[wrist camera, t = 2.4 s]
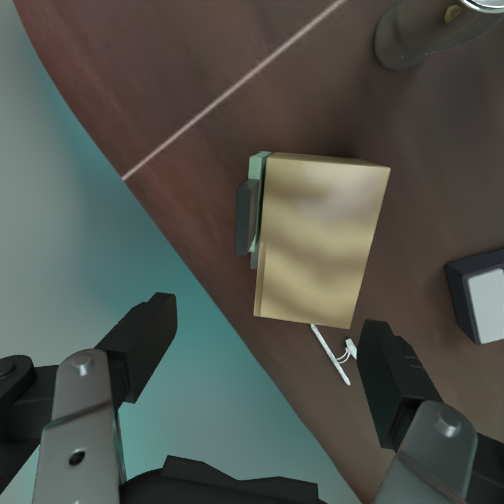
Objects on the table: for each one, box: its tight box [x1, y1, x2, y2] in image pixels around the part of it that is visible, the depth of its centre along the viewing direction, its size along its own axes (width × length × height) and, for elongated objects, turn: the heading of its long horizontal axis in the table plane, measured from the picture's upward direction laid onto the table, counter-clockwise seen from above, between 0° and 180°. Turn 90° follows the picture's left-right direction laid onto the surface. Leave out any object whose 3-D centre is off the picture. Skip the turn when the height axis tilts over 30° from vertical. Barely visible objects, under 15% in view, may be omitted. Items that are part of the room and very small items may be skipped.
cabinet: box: [250, 151, 391, 329], centre depth 31 cm, size 16×12×12 cm
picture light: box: [311, 324, 357, 386], centre depth 42 cm, size 14×4×2 cm, turn 32°
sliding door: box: [234, 152, 271, 256], centre depth 27 cm, size 8×1×16 cm, turn 176°
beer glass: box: [374, 0, 504, 71], centre depth 20 cm, size 7×7×15 cm
